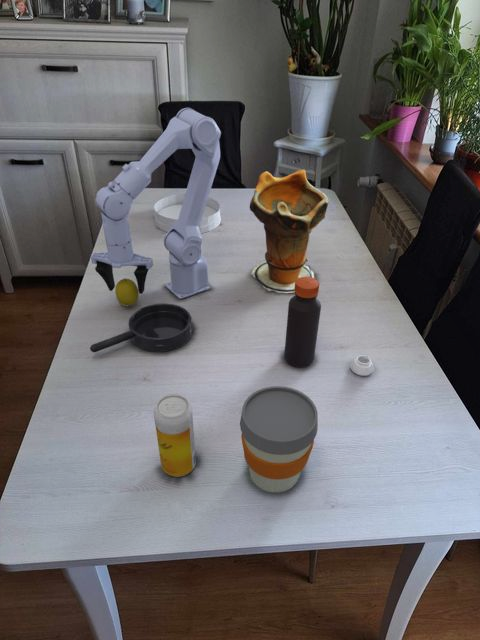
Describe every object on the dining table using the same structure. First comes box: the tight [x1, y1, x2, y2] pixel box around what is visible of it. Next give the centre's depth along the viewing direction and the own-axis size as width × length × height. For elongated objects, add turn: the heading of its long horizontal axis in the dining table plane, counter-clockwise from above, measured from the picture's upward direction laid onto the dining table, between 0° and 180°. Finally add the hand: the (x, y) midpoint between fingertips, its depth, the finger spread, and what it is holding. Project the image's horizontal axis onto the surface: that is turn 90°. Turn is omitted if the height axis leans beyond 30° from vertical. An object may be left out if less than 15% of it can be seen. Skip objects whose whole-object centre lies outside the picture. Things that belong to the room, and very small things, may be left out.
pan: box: [128, 302, 193, 352], centre depth 115 cm, size 14×14×4 cm
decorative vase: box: [249, 169, 330, 294], centre depth 129 cm, size 21×23×28 cm
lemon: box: [114, 277, 139, 307], centre depth 122 cm, size 6×6×8 cm
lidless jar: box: [349, 354, 375, 377], centre depth 108 cm, size 5×3×5 cm
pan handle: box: [89, 330, 134, 353], centre depth 108 cm, size 10×2×2 cm, turn 128°
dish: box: [153, 193, 221, 235], centre depth 164 cm, size 22×22×5 cm
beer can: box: [153, 393, 197, 478], centre depth 82 cm, size 6×6×15 cm
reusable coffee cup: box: [239, 385, 319, 494], centre depth 81 cm, size 13×13×15 cm
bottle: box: [283, 277, 322, 368], centre depth 104 cm, size 7×7×20 cm
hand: (127, 290), depth 121 cm, fingers open, 7 cm apart
